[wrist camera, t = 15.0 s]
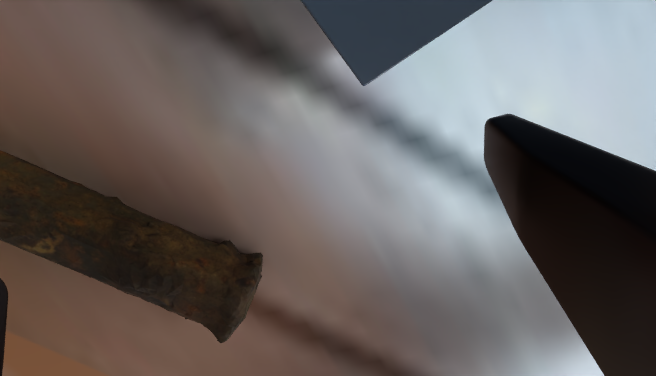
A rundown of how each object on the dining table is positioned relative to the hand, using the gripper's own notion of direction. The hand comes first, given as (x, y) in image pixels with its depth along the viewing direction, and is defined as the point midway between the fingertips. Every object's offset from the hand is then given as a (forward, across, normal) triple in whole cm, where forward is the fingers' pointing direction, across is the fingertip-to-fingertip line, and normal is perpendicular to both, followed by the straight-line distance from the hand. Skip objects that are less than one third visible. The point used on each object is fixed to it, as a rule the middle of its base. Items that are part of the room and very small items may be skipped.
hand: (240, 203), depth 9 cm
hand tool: (+13, +10, +8) cm, 19 cm away
